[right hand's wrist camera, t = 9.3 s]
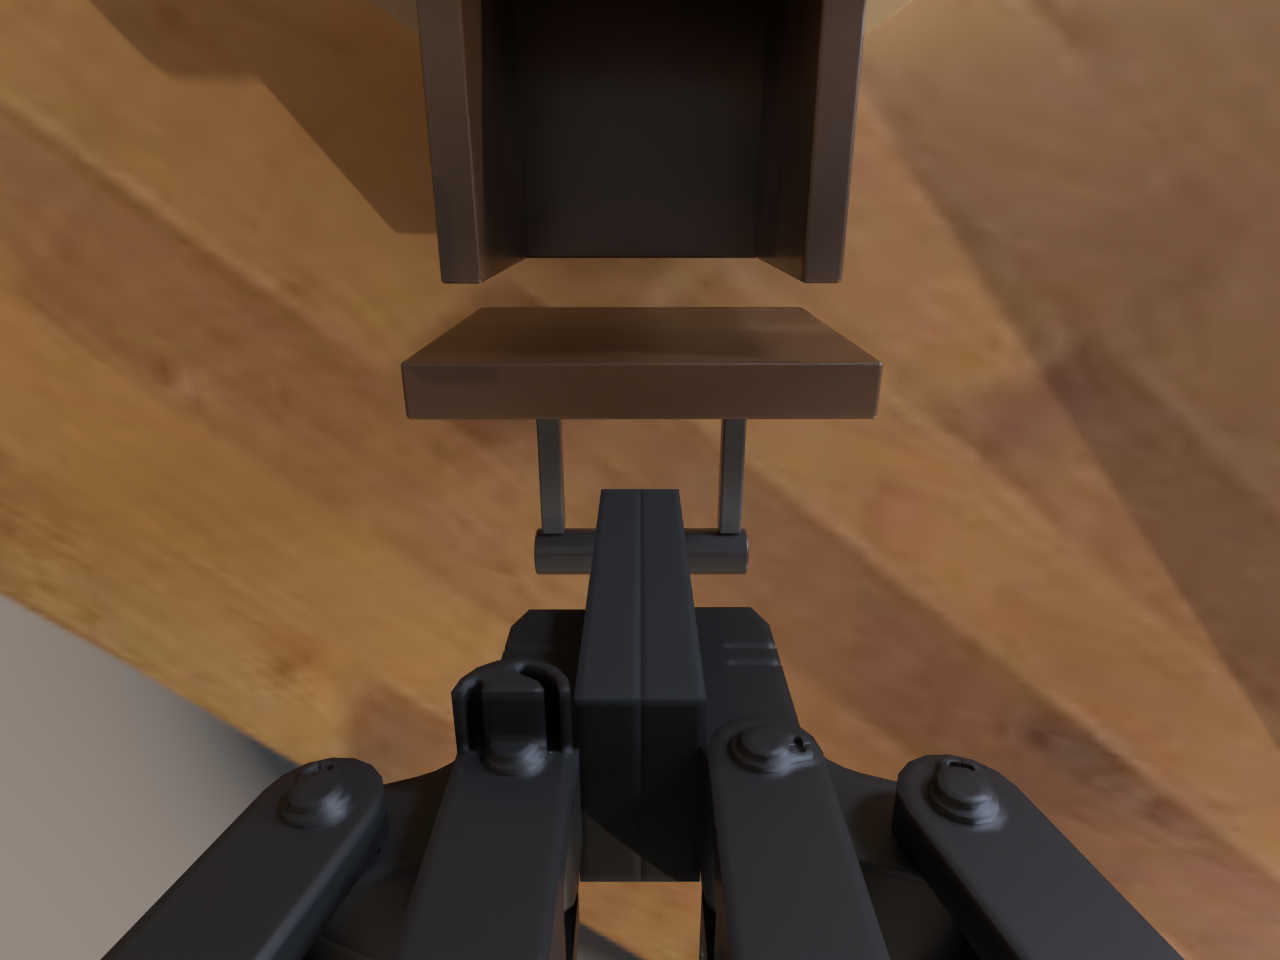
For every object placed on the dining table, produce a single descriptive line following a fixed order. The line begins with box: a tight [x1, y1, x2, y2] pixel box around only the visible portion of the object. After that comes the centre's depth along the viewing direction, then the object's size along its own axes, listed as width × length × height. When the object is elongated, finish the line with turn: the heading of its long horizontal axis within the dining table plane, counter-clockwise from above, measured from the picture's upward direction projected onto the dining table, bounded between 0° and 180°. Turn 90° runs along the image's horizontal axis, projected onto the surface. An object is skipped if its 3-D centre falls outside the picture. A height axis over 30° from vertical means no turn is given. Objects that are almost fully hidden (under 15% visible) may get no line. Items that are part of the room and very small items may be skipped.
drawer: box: [401, 0, 882, 574], centre depth 17 cm, size 23×10×8 cm, turn 0°
